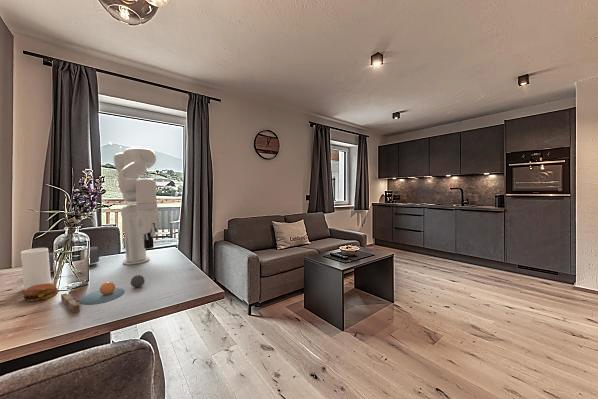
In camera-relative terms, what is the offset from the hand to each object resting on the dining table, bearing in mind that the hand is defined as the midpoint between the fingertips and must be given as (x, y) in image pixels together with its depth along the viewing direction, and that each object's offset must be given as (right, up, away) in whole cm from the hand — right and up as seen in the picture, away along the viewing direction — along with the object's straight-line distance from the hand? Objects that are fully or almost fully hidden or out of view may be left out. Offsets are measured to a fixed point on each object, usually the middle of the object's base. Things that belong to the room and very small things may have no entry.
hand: (149, 248), depth 117 cm
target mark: (-11, -16, -13) cm, 23 cm away
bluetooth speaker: (-51, -15, +19) cm, 57 cm away
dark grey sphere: (-2, -13, -5) cm, 14 cm away
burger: (-35, -17, -13) cm, 41 cm away
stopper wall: (-16, -17, -21) cm, 32 cm away
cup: (-46, -16, -3) cm, 48 cm away
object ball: (-10, -14, -12) cm, 21 cm away
